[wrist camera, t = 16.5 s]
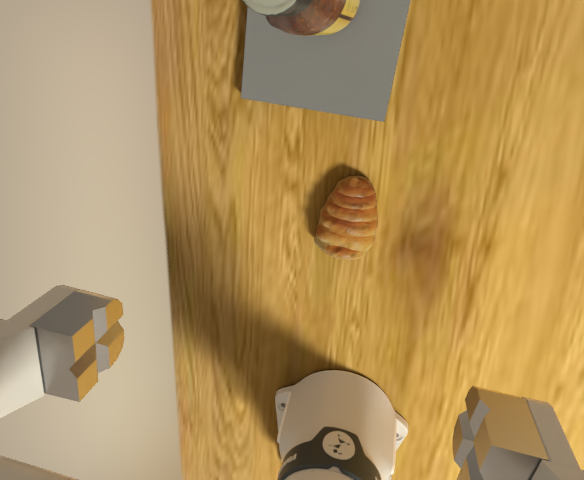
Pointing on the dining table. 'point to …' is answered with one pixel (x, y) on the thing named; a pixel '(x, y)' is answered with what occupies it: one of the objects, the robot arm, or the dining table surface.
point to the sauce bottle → (306, 15)
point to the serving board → (327, 62)
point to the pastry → (348, 219)
